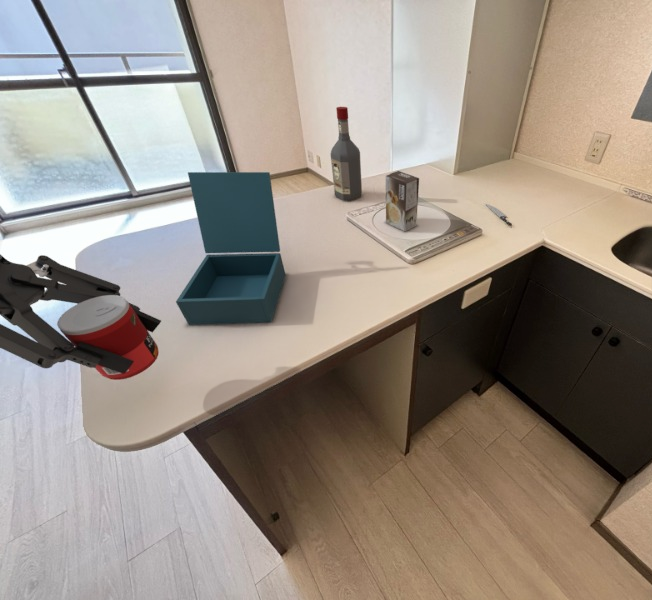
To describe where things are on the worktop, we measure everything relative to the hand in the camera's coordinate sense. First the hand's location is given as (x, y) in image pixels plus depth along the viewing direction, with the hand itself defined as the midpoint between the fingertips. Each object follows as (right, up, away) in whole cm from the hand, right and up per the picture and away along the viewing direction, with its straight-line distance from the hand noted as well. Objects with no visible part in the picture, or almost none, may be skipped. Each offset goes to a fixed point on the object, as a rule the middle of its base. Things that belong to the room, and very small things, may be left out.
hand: (143, 345), depth 51 cm
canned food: (-3, -3, +2) cm, 5 cm away
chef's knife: (+76, +38, +67) cm, 108 cm away
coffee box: (+41, +33, +59) cm, 79 cm away
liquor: (+20, +47, +75) cm, 91 cm away
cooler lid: (+1, +28, +26) cm, 38 cm away
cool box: (+2, +8, +28) cm, 29 cm away
